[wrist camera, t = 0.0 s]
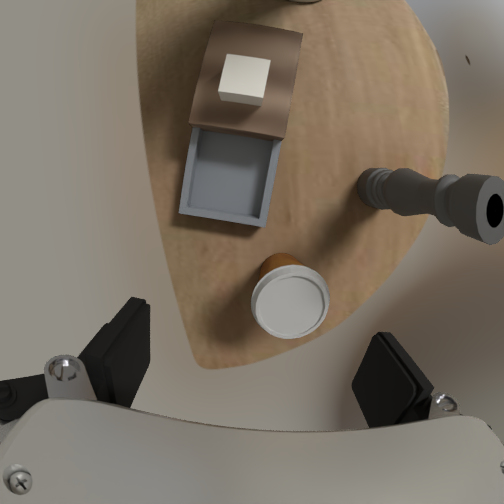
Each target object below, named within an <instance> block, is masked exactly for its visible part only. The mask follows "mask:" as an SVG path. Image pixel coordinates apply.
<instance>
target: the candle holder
mask: <svg viewBox="0 0 504 504" xmlns="http://www.w3.org/2000/svg"><path fill="white" fill-rule="evenodd" d="M357 189H358V194H359V196H360V199H361V200H362V201H363V202H364V203H365V204H366V205H369V206H371V207H375V208H378V209H381V210H383V209H391V210H392V211H393V212H394V213H396V214H399V215H401V216H411V215H419V214H431V215H434V216H436V218H437V219H438V220H439V222H440V223H442V224H444V225H446V226H448V227H452V226H456V228H457V229H459V231H460V232H461V233H462V234H464V235H466V236H469V237H471V238H474V239H476V240H479V241H481V242H484V243H486V244H489V245H492V244H496V243H498V242H499V241H500V240H501V239H502V238H503V236H504V181H503V180H502V179H501V178H499V177H497V176H489V175H479V174H467V175H465V176H463V177H461V178H459V177H458V176H456V175H445V176H443V177H441V178H440V179H439V180H435V179H430V178H428V177H425V176H423V175H421V174H419V173H417V172H415V171H413V170H411V169H409V168H401V169H397V170H395V171H392V170H389V169H387V168H369V169H367V170H366V171H364V172H363V173H362V174H361V176H360V177H359V180H358V183H357Z"/></svg>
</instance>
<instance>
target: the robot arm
mask: <svg viewBox="0 0 504 504" xmlns="http://www.w3.org/2000/svg"><path fill="white" fill-rule="evenodd" d="M291 1H296V2H315V1H319V0H291ZM149 363H150V305H149V304H146V300H144V299H139V298H135V297H131V298H130V299H129V300H128V301H127V303H126V304H125V305H124V306H123V308H122V309H121V310H120V311H119V312H118V313H117V314H116V316H115V317H114V318H113V319H112V320H111V322H110V323H106V324H105V325H104V326H103V327H102V328H101V329H100V330H99V332H98V333H97V334H96V335H95V336H94V338H93V339H92V340H91V341H90V342H89V344H88V345H87V346H86V347H85V349H84V350H83V351H82V352H81V354H80V355H79V356H78V357H77V358H76V357H74V356H71V355H59V356H55V357H53V358H51V359H50V360H49V361H48V362H47V363H46V365H45V367H44V374H40V375H34V376H29V377H23V378H16V379H10V380H3V381H0V504H504V443H503V442H501V441H500V440H499V439H498V437H497V436H496V435H495V433H494V432H493V431H492V429H491V427H490V426H489V425H487V424H486V423H484V422H483V421H482V420H480V419H478V418H475V417H471V416H464V415H461V414H460V404H459V402H458V401H457V400H456V399H455V398H454V397H453V396H451V395H450V394H448V393H444V392H438V393H435V394H434V395H433V397H432V396H431V395H430V394H431V392H432V391H433V389H434V387H433V385H432V384H431V383H430V381H429V380H428V379H427V378H426V377H425V375H424V374H423V372H422V371H421V370H420V368H419V367H418V366H417V365H416V363H415V362H414V361H413V360H412V358H411V357H410V356H409V355H408V353H407V352H406V351H405V350H404V348H403V347H402V346H401V345H400V344H399V342H398V341H397V340H396V338H395V337H394V336H393V335H392V334H391V333H390V332H378V333H377V334H376V335H374V336H373V337H372V340H371V342H370V344H369V346H368V349H367V351H366V353H365V356H364V358H363V360H362V363H361V365H360V367H359V369H358V371H357V373H356V375H355V377H354V379H353V382H352V390H353V392H354V394H355V396H356V399H357V401H358V403H359V405H360V408H361V410H362V412H363V415H364V417H365V419H366V421H367V424H368V426H369V428H364V429H351V430H334V431H274V430H273V431H272V430H257V429H245V428H234V427H226V426H218V425H211V424H204V423H198V422H192V421H186V420H181V419H176V418H171V417H167V416H162V415H158V414H153V413H149V412H144V411H140V410H136V409H131V408H130V407H131V404H132V402H133V400H134V398H135V395H136V393H137V390H138V388H139V386H140V384H141V382H142V380H143V377H144V375H145V373H146V371H147V368H148V366H149Z"/></svg>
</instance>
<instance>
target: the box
mask: <svg viewBox="0 0 504 504" xmlns="http://www.w3.org/2000/svg"><path fill="white" fill-rule="evenodd" d="M280 146H281V141H280V140H275V139H274V140H273V141H266V140H261V139H256V138H250V137H244V136H238V135H231V134H224V133H217V132H209V131H203V130H202V129H201V128H197V127H193V129H192V134H191V139H190V144H189V150H188V155H187V161H186V167H185V173H184V180H183V186H182V193H181V200H180V207H179V213H180V214H187V215H193V216H199V217H206V218H212V219H218V220H224V221H230V222H236V223H242V224H248V225H254V226H259V227H265V226H266V221H267V215H268V210H269V205H270V200H271V194H272V189H273V184H274V179H275V173H276V168H277V162H278V157H279V152H280Z"/></svg>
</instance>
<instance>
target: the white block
mask: <svg viewBox="0 0 504 504" xmlns="http://www.w3.org/2000/svg"><path fill="white" fill-rule="evenodd" d="M270 61H271V60H267V59H261V58H255V57H248V56H241V55H232V54H227V56H226V60H225V64H224V68H223V72H222V76H221V80H220V85H219V89H218V92H219V95H220V98H221V100H223V101H230V102H237V103H244V104H250V105H256V106H262V101H263V96H264V91H265V86H266V81H267V76H268V71H269V66H270Z"/></svg>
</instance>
